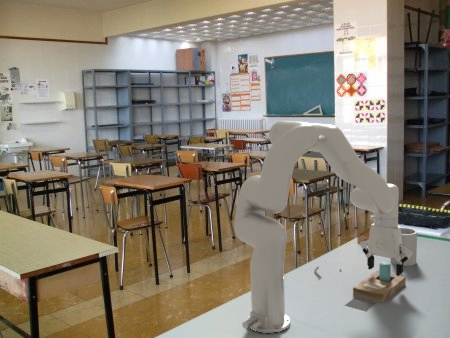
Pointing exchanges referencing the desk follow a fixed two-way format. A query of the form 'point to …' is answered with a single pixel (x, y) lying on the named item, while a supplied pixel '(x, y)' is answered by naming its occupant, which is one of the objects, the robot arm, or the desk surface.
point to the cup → (408, 245)
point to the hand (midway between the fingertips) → (384, 271)
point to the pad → (360, 304)
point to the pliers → (318, 274)
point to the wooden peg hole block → (379, 287)
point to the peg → (385, 271)
